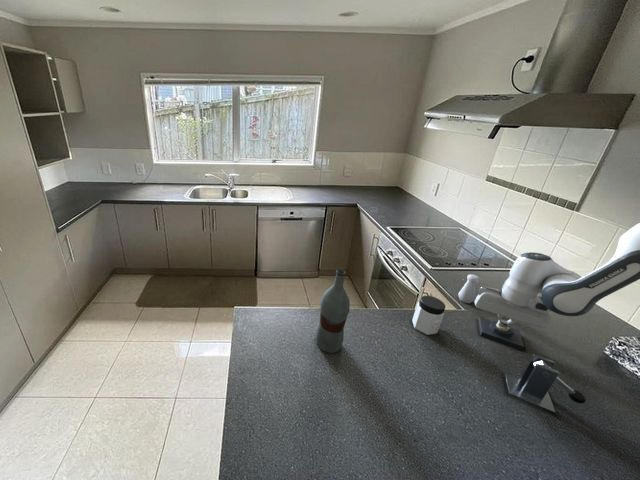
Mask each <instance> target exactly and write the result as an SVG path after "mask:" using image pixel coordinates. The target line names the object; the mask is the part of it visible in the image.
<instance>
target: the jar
mask: <svg viewBox="0 0 640 480" xmlns="http://www.w3.org/2000/svg"><path fill="white" fill-rule="evenodd" d="M445 310H446V304H445V302H443V301H442V300H441V299H440V298H437V297H436V296H432V295H422V296H421V297H420V298H419V301H418V302H417V304H416V307H415V310H414V313H413V316H412V319H411V321H412V325H413V328H414V329H415V330H417V331H419V332H421V333H423V334H424V335H426V336H429V335H436V334H438V332H439V329H440V327H441V325H442V322H443V319H444V316H445Z"/></svg>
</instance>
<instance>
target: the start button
mask: <svg viewBox="0 0 640 480" xmlns="http://www.w3.org/2000/svg"><path fill="white" fill-rule="evenodd" d="M496 327H497V328H499V329H501V330H503V331H508V330H509V328H507V327H504V326H501V325H498V323H497V324H496Z"/></svg>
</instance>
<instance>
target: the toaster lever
mask: <svg viewBox="0 0 640 480" xmlns="http://www.w3.org/2000/svg"><path fill="white" fill-rule="evenodd" d="M536 363H538V364H540V365H543V366H546V367H549V368H551V367H550V366H549V365H548V364H546V363H545V362H544V361H543V360H540V361H537V362H534V363H533V364H534V367H535V365H536ZM551 369H552V368H551ZM554 382H555V383H557V384H558V385H559V386H560V387H561V388H563V389H564V390H565V391H566V392H568V397H569V398H570V400H571V401H572V402H574V403H577V404H585V403H586V402H587V397H586V395H585V394H584V393H583V392H582V391H581V390H578V389H573V388H572V387H570V386H569V385H568V384H567V383H565V382H564V380H563V379H561V378H559V376H557V378H556V379H555V381H554Z"/></svg>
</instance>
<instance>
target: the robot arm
mask: <svg viewBox="0 0 640 480" xmlns="http://www.w3.org/2000/svg"><path fill="white" fill-rule="evenodd" d="M508 274H509V275H508V278H507V279H505V281H504V283H503V285H502V287H501V289H499V288H496V287H495V288H494V287H492V286H489V285H486V286H481V287H480V288H479V289H478V292H477V296H475V298H474V305H475V307H476V308H477V309H480V310H482V311H486V312H489V313H492V314H495V315H497V318H498V320H497V321H498V325H501V326H504V327H507V328H509V326H510V327H511V325H514V324H515V323H517V322H521V323H524V324H527V325H530V326H533V327H536V328H539V329H546V328H548V326H549V324H550V322H551V319H552V314H551V312H552V313H555V314H557V315H560V316H563V317H565V316H566V317H579V316H583V315H586V314H587V313H589V312H590V311H591V310H592V309H593V308H594V307H595V305H596V304H597V303H598V302H599V301H601V300H602V299H605V298H606V297H608V296H610V295H612V294H614V293H616V292H618V291H619V290H622V289H623V288H625V287H627V286H629V285H631V284H633V283H635V282H637V281H639V280H640V222H639V223H636V224H635V225H634V226H632V227H630V228H629V229H628V230H626V231H625V232H624V233H623V234H621V236H620V237H619V238H618V242H617V246H616V249H615V252H614V254H613V256H612V257H611V258H610V259H609V260H608V261H607V262H606V263H605V264H603V265H601V266H599V267H598V268H596V269H594V270H593V271H590V272H589V273H587V274H585V275H583V276H581V275H580V274H578V273H576V272H575V271H572V270H569V269H567V268H566V267H563V265H560V264H559V263H557V262H556V261H555V260H554V259H553V258H552V257H551V256H549V255H547V254H543V253H542V252H541V253H540V252H524V253H522V254H520V255H519V256H518V257H517V258H516V259H515V261H514V262H513V264H512V266H511V268H510V270H509V273H508ZM504 318H507V319H508V320H505V319H504Z"/></svg>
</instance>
